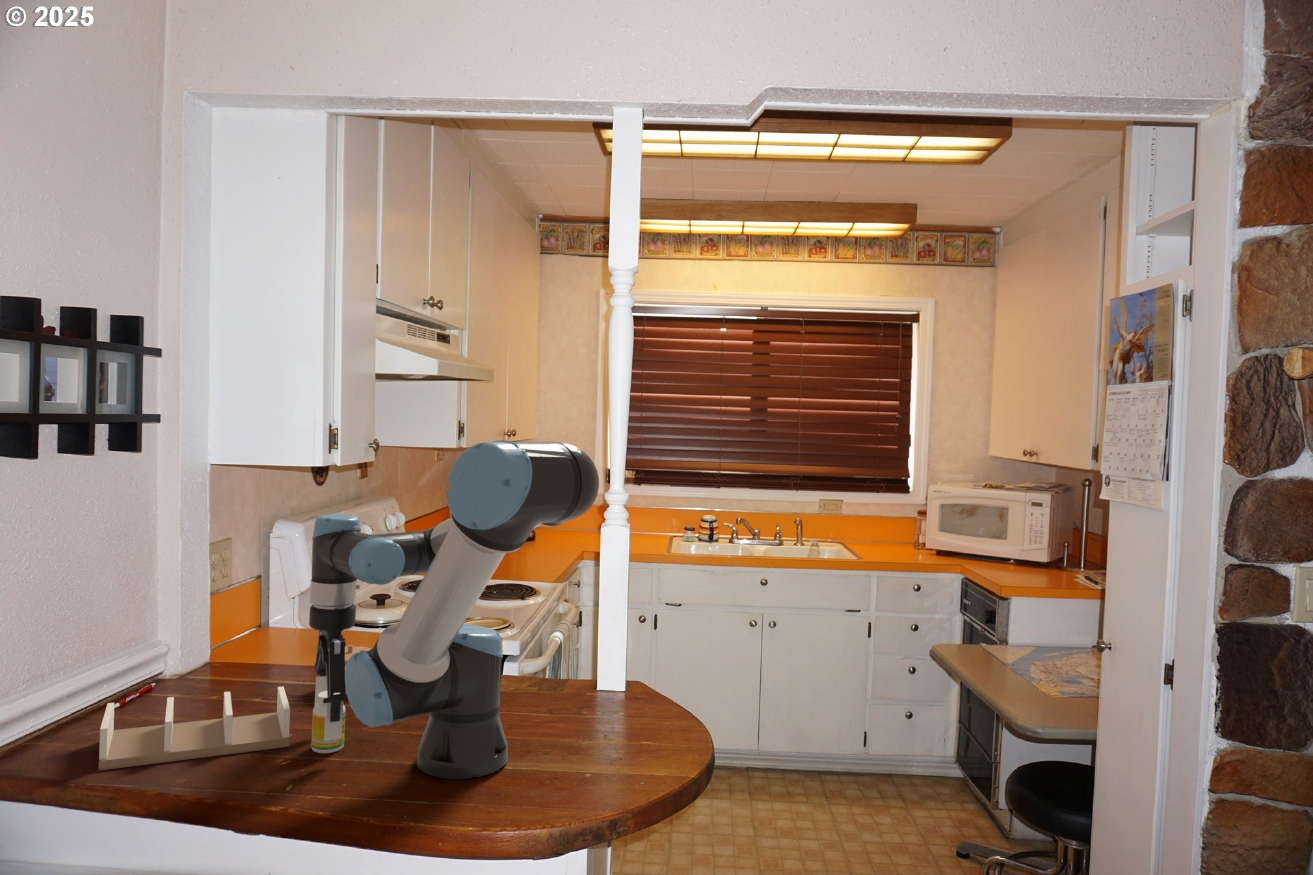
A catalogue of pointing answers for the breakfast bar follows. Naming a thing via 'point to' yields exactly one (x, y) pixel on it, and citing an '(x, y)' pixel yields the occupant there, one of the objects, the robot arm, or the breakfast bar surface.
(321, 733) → the supplement bottle
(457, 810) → the breakfast bar surface
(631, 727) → the breakfast bar surface
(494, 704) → the robot arm
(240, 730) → the rack
